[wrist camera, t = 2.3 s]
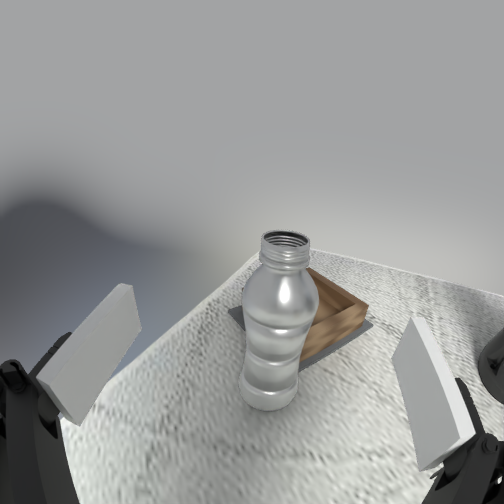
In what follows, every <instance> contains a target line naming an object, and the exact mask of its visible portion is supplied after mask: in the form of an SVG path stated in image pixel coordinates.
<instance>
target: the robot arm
mask: <svg viewBox="0 0 504 504" xmlns="http://www.w3.org/2000/svg"><path fill="white" fill-rule="evenodd" d="M141 330H142V328H141V324H140V320H139V315H138V311H137V306H136V301H135V297H134V292H133V287H132V285H126V284H121V283H119V284H118V285H117V286H116V287H115V288H114V290H112V291H111V293H109V295H108V296H107V297H106V298H105V299H104V300H103V301H102V302H101V303H100V304H99V305H98V306H97V307H96V308H95V309H94V310H93V311H92V313H91V314H90V315H89V316H88V317H87V318H86V319H85V320H84V321H83V322H82V323H81V325H80V326H79V327H78V328H77V329H76V330H75V331H74V332H73V333H71V332H68V333H66V334H65V335H63V336H61V337H60V338H59V339H58V340H57V341H56V342H55V344H54V345H53V347H51V348H50V349H49V350H48V353H46V354H45V355H44V356H43V357H42V358H41V360H40V361H39V362H38V363H37V364H36V366H35V367H34V368H33V369H32V371H31V372H30V373H29V374H28V375H27V373H26V372H25V370H24V368H23V367H22V365H21V364H20V362H19V361H17V360H8V361H5V362H4V363H3V364H1V366H0V504H80V503H79V500H78V497H77V494H76V491H75V487H74V484H73V481H72V477H71V473H70V469H69V465H68V461H67V457H66V452H65V447H64V442H63V437H62V431H61V425H60V420H59V417H58V414H59V413H60V412H61V413H62V414H63V416H64V417H65V418H66V419H67V420H68V421H70V422H72V423H74V424H76V425H78V426H80V425H81V424H82V422H83V420H84V419H85V417H86V415H87V414H88V412H89V410H90V409H91V407H92V405H93V404H94V402H95V400H96V399H97V397H98V396H99V394H100V392H101V391H102V389H103V388H104V386H105V384H106V383H107V381H108V380H109V378H110V376H111V375H112V373H113V372H114V370H115V369H116V367H117V366H118V364H119V363H120V361H121V360H122V358H123V356H124V355H125V354H126V352H127V351H128V349H129V348H130V346H131V344H132V343H133V341H134V340H135V339H136V337H137V336H138V334H139V333H140V331H141ZM391 359H392V362H393V365H394V368H395V372H396V375H397V378H398V382H399V385H400V389H401V392H402V396H403V400H404V404H405V407H406V411H407V415H408V419H409V424H410V428H411V432H412V437H413V442H414V446H415V451H416V457H417V462H418V468H419V472H420V471H424V470H428V469H432V468H435V467H436V466H438V465H439V464H440V463H442V462H443V464H444V467H443V468H441V469H440V470H438V471H437V472H436V473H434V474H433V475H432V476H431V477H430V479H433V478H434V477H436V476H437V475H438V476H437V477H436V479H435V480H434V483H433V485H432V487H431V488H430V490H429V492H428V494H427V495H426V497H425V499H424V500H423V502H422V504H504V441H498V440H497V438H496V437H495V436H494V435H492V434H489V433H485V431H484V428H483V425H482V423H481V420H480V417H479V415H478V412H477V409H476V407H475V405H474V404H473V403H474V402H473V400H472V397H470V393H469V390H468V388H467V386H466V385H465V383H464V382H463V381H462V380H461V379H460V378H454V376H453V374H452V372H451V370H450V367H449V365H448V363H447V361H446V359H445V357H444V355H443V353H442V351H441V349H440V347H439V345H438V343H437V341H436V339H435V337H434V335H433V333H432V331H431V329H430V327H429V326H428V324H427V322H426V320H425V318H424V317H411V318H410V320H409V322H408V324H407V327H406V329H405V331H404V333H403V336H402V338H401V340H400V342H399V344H398V346H397V348H396V350H395V352H394V354H393V356H392V358H391ZM478 368H479V373H480V376H481V379H482V381H483V383H484V385H485V387H486V388H487V389H488V391H489V392H490V393H491V394H492V395H493V396H494V397H495V398H496V399H497V400H498V401H499V402H501V403H503V404H504V328H503V329H502V330H501V331H500V332H499V333H498V334H497V335H496V336H495V337H494V338H493V339H492V340H490V341H489V342H488V344H487V345H486V346H485V348H484V350H483V351H482V353H481V355H480V357H479V361H478ZM501 476H502V481H501V483H499V484H498V478H500V477H501Z"/></svg>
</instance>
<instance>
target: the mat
mask: <svg viewBox="0 0 504 504" xmlns="http://www.w3.org/2000/svg"><path fill="white" fill-rule="evenodd" d="M228 312H229V313H230V315H231V316H232V317H233V318H234V319H235V320H236V321H237V323H238V324H239V325H240V326H241V327H242V328H243V329H244V330H245V331H246V329H245V322H244V315H243V310H242V306H239V307H235V308H232V309H229V310H228ZM371 327H373V324H371V323H370V322H369V321H367V320H366V319H364V322H363V324H362V327H360V328H358V329H357V330H355V331H354V332H352V333H350V334H349V335H347V336H346V337H344V338H342V339H341V340H339V341H337V342H336V343H334V344H332V345H330V346H329V347H327V348H325V349H323V350H322V351H320V352H318V353H316V354H315V355H313V356H311V357H309V358H307V359H305V360H304V361H302V362H300V363H299V368H298V372H299V371H301V370H303V369H305V368H307V367H308V366H310V365H312V364H314V363H316V362H317V361H319V360H321V359H322V358H324V357H326V356H328V355H329V354H331V353H333V352H334V351H336V350H337V349H339V348H341V347H342V346H344V345H345V344H347V343H349V342H350V341H352V340H353V339H355V338H356V337H358V336H359V335H361V334H362V333H364V332H365V331H367V330H368V329H370V328H371Z"/></svg>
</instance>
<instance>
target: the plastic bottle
mask: <svg viewBox="0 0 504 504" xmlns="http://www.w3.org/2000/svg"><path fill="white" fill-rule="evenodd" d="M309 249H310V240H309V238H308V237H307V236H305V235H303V234H301V233H298V232H294V231H288V230H273V231H268V232H266V233H264V234H263V235H262V238H261V250H260V252H259V260H260V262H261V263H262V264H261V265H260V266H259V267H258V268H257V269H256V270H255V272H254V273H253V274H252V275H251V276H250V278H249V279H248V280H247V282H246V284H245V287H244V289H243V292H242V307H243V315H244V322H245V329H246V353H245V358H244V364H243V367H242V370H241V373H240V377H239V382H238V385H239V389H240V393H241V396H242V398H243V399H244V401H245V402H246V403H247V404H249V405H250V406H252V407H253V408H256V409H259V410H263V411H275V410H279V409H282V408H284V407H285V406H287V405H288V404H289V403H290V402H291V401H292V399H293V398H294V396H295V395H296V393H297V390H298V380H299V378H298V368H299V360H300V355H301V352H302V348H303V345H304V342H305V339H306V336H307V334H308V331H309V329H310V327H311V324H312V322H313V320H314V317H315V315H316V312H317V309H318V306H319V295H318V290H317V287H316V285H315V283H314V281H313V279H312V277H311V276H310V274H309V273H308V272H307V270H306V269H305V268H306V267H307V266H308V265H309V260H310V256H309Z"/></svg>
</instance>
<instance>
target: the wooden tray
mask: <svg viewBox="0 0 504 504" xmlns="http://www.w3.org/2000/svg"><path fill="white" fill-rule="evenodd" d="M306 270H307V272H308V273H309V274H310V276H311V277H312V279H313V281H314V283H315V285H316V287H317V290H318V295H319V306H318V309H317V312H316V315H315V317H314V320H313V322H312V324H311V327H310V329H309V331H308V334H307V336H306V339H305V342H304V345H303V348H302V352H301V355H300V360H299V363H300V362H302V361H304V360H305V359H307V358H309V357H311V356H313V355H315V354H316V353H318V352H320V351H322V350H323V349H325V348H327V347H329V346H330V345H332V344H334V343H336V342H337V341H339V340H341V339H342V338H344V337H346V336H347V335H349V334H350V333H352V332H354V331H355V330H357V329H358V328H360V327H362V324H363V322H364V319H365V316H366V312H367V309H368V306H369V305H367V304H366V303H364V302H363V301H361V300H360V299H358V298H357V297H355V296H353V295H352V294H350V293H349V292H347V291H346V290H344V289H343V288H341V287H339V286H338V285H336V284H335V283H333V282H332V281H330V280H328V279H327V278H325V277H324V276H322V275H320V274H319V273H317V272H316V271H314V270H313V269H311V268H306ZM243 289H244V288H242V292H243ZM242 310H243V307H242Z"/></svg>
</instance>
